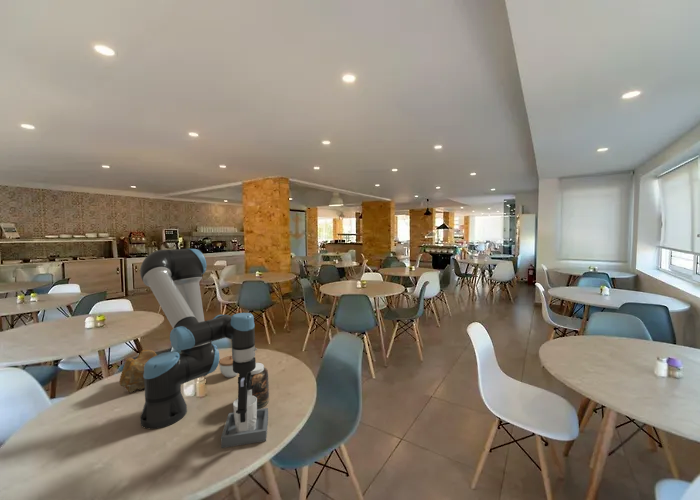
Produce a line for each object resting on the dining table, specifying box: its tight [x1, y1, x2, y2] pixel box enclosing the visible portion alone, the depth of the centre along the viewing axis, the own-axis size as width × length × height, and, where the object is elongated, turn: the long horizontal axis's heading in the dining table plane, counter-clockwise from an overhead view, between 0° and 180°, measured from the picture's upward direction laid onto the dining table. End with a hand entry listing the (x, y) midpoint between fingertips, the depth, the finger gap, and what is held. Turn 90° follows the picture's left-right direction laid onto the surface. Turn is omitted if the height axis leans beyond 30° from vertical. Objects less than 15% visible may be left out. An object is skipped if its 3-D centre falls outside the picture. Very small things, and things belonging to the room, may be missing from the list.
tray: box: [220, 407, 269, 449], centre depth 106 cm, size 14×14×4 cm
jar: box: [250, 362, 270, 409], centre depth 124 cm, size 12×12×15 cm
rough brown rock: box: [119, 349, 158, 393], centre depth 142 cm, size 23×17×15 cm
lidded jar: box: [218, 355, 239, 378], centre depth 151 cm, size 11×11×9 cm
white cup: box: [232, 395, 257, 433], centre depth 105 cm, size 8×8×10 cm
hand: (246, 418), depth 106 cm, fingers open, 13 cm apart
